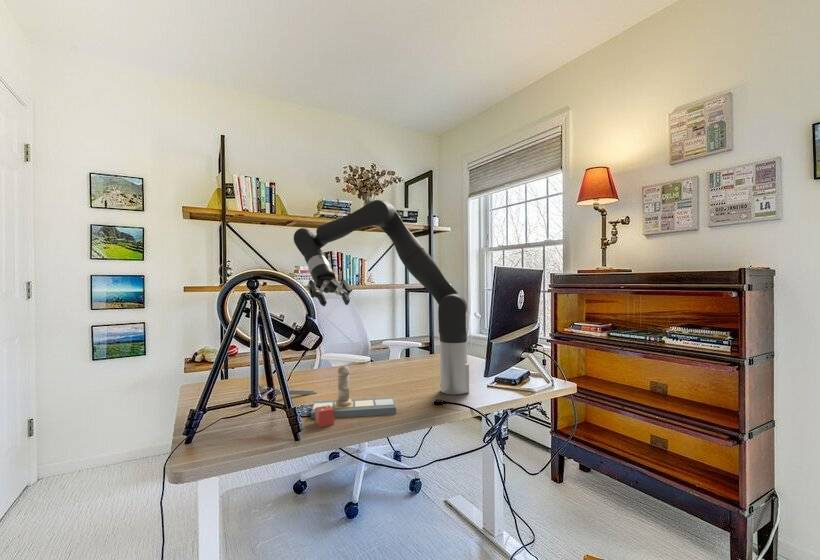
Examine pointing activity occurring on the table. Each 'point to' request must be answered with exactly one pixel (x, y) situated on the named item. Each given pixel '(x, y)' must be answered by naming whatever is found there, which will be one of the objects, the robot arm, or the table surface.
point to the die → (324, 415)
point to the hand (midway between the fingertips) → (336, 304)
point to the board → (360, 407)
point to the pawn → (343, 387)
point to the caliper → (293, 392)
